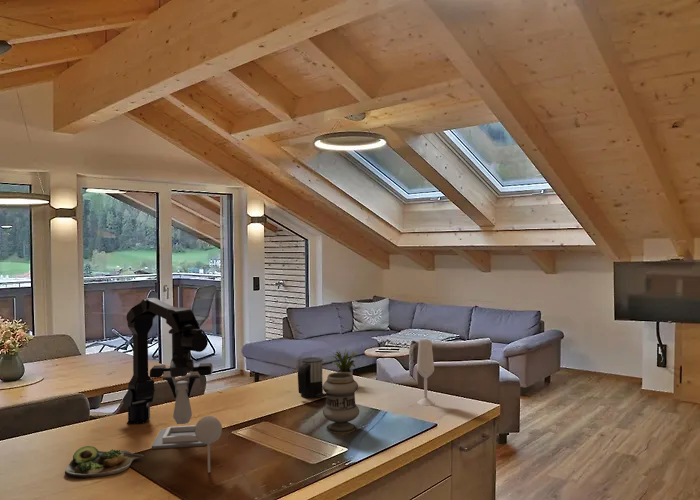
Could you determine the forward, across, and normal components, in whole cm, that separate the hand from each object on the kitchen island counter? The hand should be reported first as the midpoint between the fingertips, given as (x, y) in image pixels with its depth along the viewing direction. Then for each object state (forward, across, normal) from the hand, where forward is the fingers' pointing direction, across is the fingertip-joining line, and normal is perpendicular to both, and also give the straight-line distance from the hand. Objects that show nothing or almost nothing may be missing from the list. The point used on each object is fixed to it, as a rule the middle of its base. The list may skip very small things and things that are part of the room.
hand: (182, 397), depth 179 cm
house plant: (+13, +59, +57) cm, 83 cm away
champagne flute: (+13, +87, +24) cm, 91 cm away
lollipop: (+13, +11, -29) cm, 34 cm away
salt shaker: (+8, 0, 0) cm, 8 cm away
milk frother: (+13, +47, +40) cm, 63 cm away
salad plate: (+14, -20, -19) cm, 31 cm away
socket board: (+13, 0, 0) cm, 13 cm away
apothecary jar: (+13, +51, 0) cm, 53 cm away
